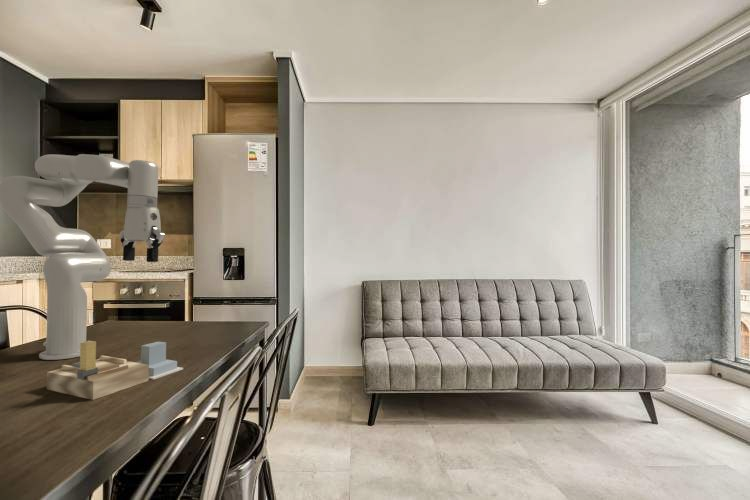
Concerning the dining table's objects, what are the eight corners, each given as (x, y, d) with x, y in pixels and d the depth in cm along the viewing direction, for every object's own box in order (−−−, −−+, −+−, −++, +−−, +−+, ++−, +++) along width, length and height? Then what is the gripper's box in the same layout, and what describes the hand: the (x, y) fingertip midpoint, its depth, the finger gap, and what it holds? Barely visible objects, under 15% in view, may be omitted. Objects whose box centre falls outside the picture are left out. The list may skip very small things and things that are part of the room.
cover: (128, 371, 97) (129, 345, 97) (153, 364, 104) (153, 339, 104) (153, 376, 94) (154, 348, 94) (177, 368, 100) (177, 342, 101)
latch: (68, 376, 82) (69, 341, 82) (83, 372, 84) (84, 338, 85) (83, 379, 80) (84, 344, 80) (97, 375, 83) (98, 341, 83)
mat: (123, 374, 96) (123, 372, 96) (154, 364, 105) (154, 363, 105) (153, 379, 93) (153, 378, 93) (183, 369, 101) (183, 367, 101)
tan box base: (46, 389, 85) (47, 367, 85) (104, 372, 97) (105, 353, 97) (93, 399, 80) (93, 376, 80) (148, 380, 92) (148, 360, 92)
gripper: (175, 204, 109) (173, 262, 109) (134, 205, 115) (132, 259, 115) (151, 201, 102) (149, 262, 102) (109, 202, 108) (107, 260, 108)
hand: (140, 261), depth 108 cm, fingers open, 9 cm apart
